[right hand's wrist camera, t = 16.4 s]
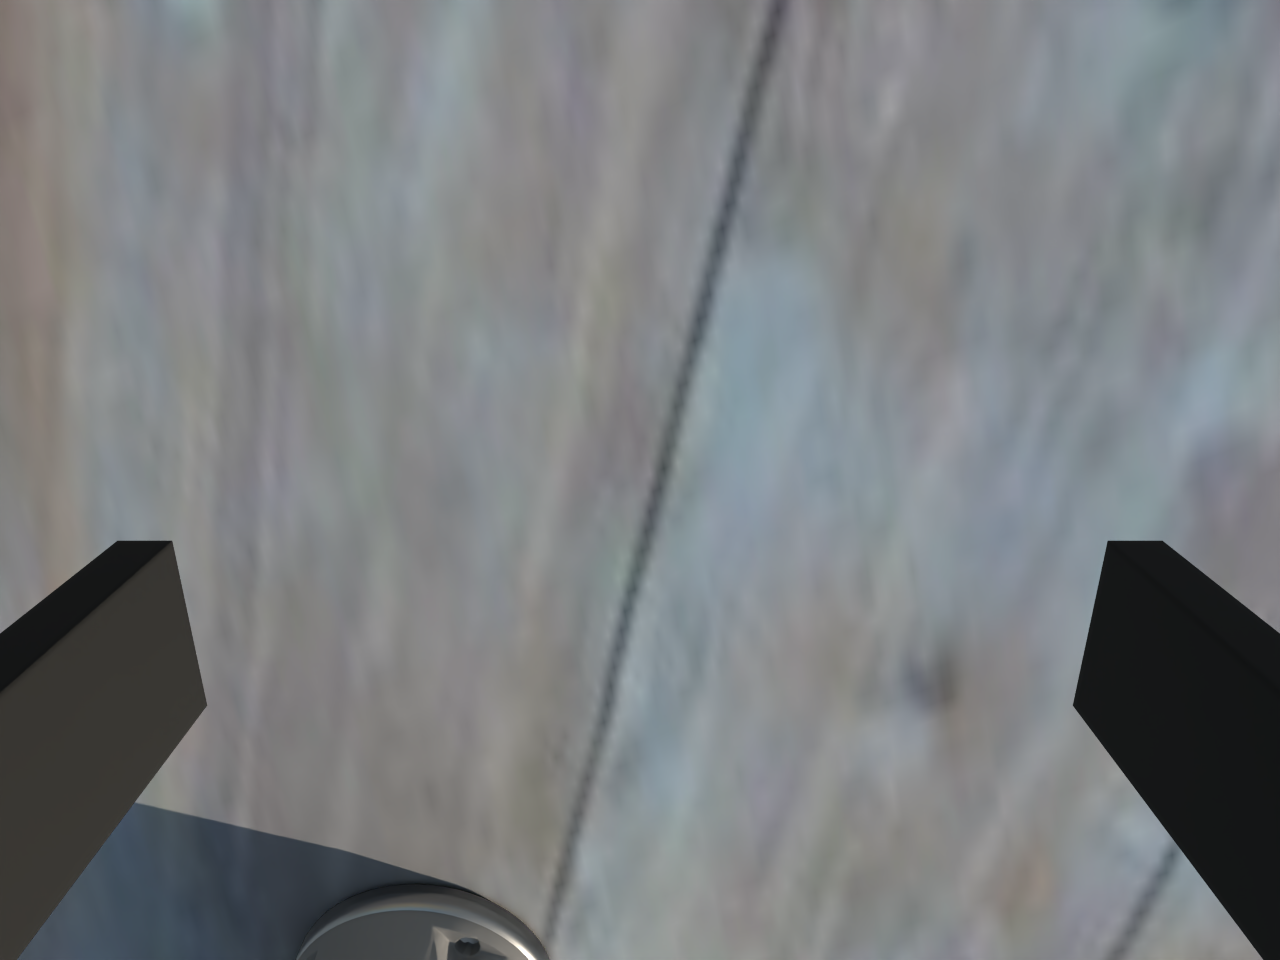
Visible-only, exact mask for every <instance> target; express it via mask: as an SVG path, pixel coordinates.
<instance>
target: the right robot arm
mask: <svg viewBox="0 0 1280 960" xmlns="http://www.w3.org/2000/svg"><path fill="white" fill-rule="evenodd" d="M206 706H207V703H206V698H205V693H204V689H203V684H202V679H201V674H200V670H199V665H198V660H197V656H196V651H195V646H194V641H193V637H192V632H191V627H190V623H189V618H188V613H187V608H186V604H185V599H184V594H183V590H182V585H181V580H180V575H179V571H178V566H177V561H176V557H175V552H174V547H173V542H172V541H117V542H115V543H114V544H113V545H112V546H110V547H109V548H108V549H107V550H105V551H104V552H103V553H102V554H100V555H99V556H98V557H96V558H95V559H94V560H93V561H91V562H90V563H89V564H88V565H86V566H85V567H84V568H83V569H81V570H80V571H79V572H78V573H76V574H75V575H74V576H72V577H71V578H70V579H69V580H67V581H66V582H65V583H64V584H62V585H61V586H60V587H59V588H57V589H56V590H55V591H54V592H52V593H51V594H50V595H48V596H47V597H46V598H45V599H43V600H42V601H41V602H40V603H38V604H37V605H36V606H35V607H33V608H32V609H31V610H29V611H28V612H27V613H26V614H24V615H23V616H22V617H21V618H19V619H18V620H17V621H16V622H14V623H13V624H12V625H11V626H9V627H8V628H7V629H5V630H4V631H3V632H2V633H0V960H17V959H18V957H19V956H20V955H21V953H22V952H23V951H24V949H25V948H26V947H27V945H28V944H29V943H30V941H31V940H32V939H33V937H34V936H35V935H36V933H37V932H38V931H39V929H40V928H41V926H42V925H43V924H44V922H45V921H46V920H47V918H48V917H49V916H50V914H51V913H52V912H53V910H54V909H55V908H56V906H57V905H58V904H59V902H60V901H61V900H62V898H63V897H64V896H65V894H66V893H67V892H68V890H69V889H70V888H71V886H72V885H73V884H74V882H75V881H76V880H77V878H78V877H79V876H80V874H81V873H82V872H83V870H84V869H85V868H86V866H87V865H88V864H89V862H90V861H91V860H92V858H93V857H94V856H95V854H96V853H97V852H98V850H99V849H100V848H101V846H102V845H103V844H104V842H105V841H106V840H107V838H108V837H109V836H110V834H111V833H112V832H113V830H114V829H115V828H116V826H117V825H118V824H119V822H120V821H121V820H122V818H123V817H124V816H125V814H126V813H127V812H128V810H129V809H130V808H131V806H132V805H133V804H134V802H135V801H136V800H137V798H138V797H139V796H140V794H141V793H142V792H143V790H144V789H145V788H146V786H147V785H148V784H149V782H150V781H151V780H152V778H153V777H154V776H155V774H156V773H157V772H158V770H159V769H160V768H161V766H162V765H163V764H164V762H165V761H166V760H167V758H168V757H169V756H170V754H171V753H172V752H173V750H174V749H175V748H176V746H177V745H178V744H179V742H180V741H181V740H182V738H183V737H184V736H185V734H186V733H187V732H188V730H189V729H190V728H191V726H192V725H193V724H194V722H195V721H196V720H197V718H198V717H199V716H200V714H201V713H202V712H203V710H204V709H205V708H206ZM1073 706H1074V708H1075V709H1076V710H1077V712H1078V713H1079V714H1080V716H1081V717H1082V718H1083V720H1084V721H1085V722H1086V724H1087V725H1088V726H1089V728H1090V729H1091V730H1092V732H1093V733H1094V734H1095V736H1096V737H1097V738H1098V740H1099V741H1100V742H1101V744H1102V745H1103V746H1104V748H1105V749H1106V750H1107V752H1108V753H1109V754H1110V756H1111V757H1112V758H1113V760H1114V761H1115V762H1116V764H1117V765H1118V766H1119V768H1120V769H1121V770H1122V772H1123V773H1124V774H1125V776H1126V777H1127V778H1128V780H1129V781H1130V782H1131V784H1132V785H1133V786H1134V788H1135V789H1136V790H1137V792H1138V793H1139V794H1140V796H1141V797H1142V798H1143V800H1144V801H1145V802H1146V804H1147V805H1148V806H1149V808H1150V809H1151V810H1152V812H1153V813H1154V814H1155V816H1156V817H1157V818H1158V820H1159V821H1160V822H1161V824H1162V825H1163V826H1164V828H1165V829H1166V830H1167V832H1168V833H1169V834H1170V836H1171V837H1172V838H1173V840H1174V841H1175V842H1176V844H1177V845H1178V846H1179V848H1180V849H1181V850H1182V852H1183V853H1184V854H1185V856H1186V857H1187V858H1188V860H1189V861H1190V862H1191V864H1192V865H1193V866H1194V868H1195V869H1196V870H1197V872H1198V873H1199V874H1200V876H1201V877H1202V878H1203V880H1204V881H1205V882H1206V884H1207V885H1208V886H1209V888H1210V889H1211V890H1212V892H1213V893H1214V894H1215V896H1216V897H1217V898H1218V900H1219V901H1220V902H1221V904H1222V905H1223V906H1224V908H1225V909H1226V910H1227V912H1228V913H1229V914H1230V916H1231V917H1232V918H1233V920H1234V921H1235V922H1236V924H1237V925H1238V926H1239V928H1240V929H1241V931H1242V932H1243V933H1244V935H1245V936H1246V937H1247V939H1248V940H1249V941H1250V943H1251V944H1252V945H1253V947H1254V948H1255V949H1256V951H1257V952H1258V953H1259V955H1260V956H1261V957H1262V959H1263V960H1280V633H1278V632H1277V631H1276V630H1275V629H1273V628H1272V627H1271V626H1269V625H1268V624H1267V623H1266V622H1264V621H1263V620H1262V619H1261V618H1259V617H1258V616H1257V615H1256V614H1254V613H1253V612H1252V611H1251V610H1249V609H1248V608H1247V607H1245V606H1244V605H1243V604H1242V603H1240V602H1239V601H1238V600H1237V599H1235V598H1234V597H1233V596H1232V595H1230V594H1229V593H1228V592H1226V591H1225V590H1224V589H1223V588H1221V587H1220V586H1219V585H1218V584H1216V583H1215V582H1214V581H1213V580H1211V579H1210V578H1209V577H1208V576H1206V575H1205V574H1204V573H1202V572H1201V571H1200V570H1199V569H1197V568H1196V567H1195V566H1194V565H1192V564H1191V563H1190V562H1189V561H1187V560H1186V559H1185V558H1184V557H1182V556H1181V555H1180V554H1178V553H1177V552H1176V551H1175V550H1173V549H1172V548H1171V547H1170V546H1168V545H1167V544H1166V543H1165V542H1163V541H1108V542H1107V547H1106V552H1105V557H1104V561H1103V566H1102V571H1101V575H1100V580H1099V585H1098V590H1097V594H1096V599H1095V604H1094V608H1093V613H1092V618H1091V623H1090V627H1089V632H1088V637H1087V641H1086V646H1085V651H1084V656H1083V660H1082V665H1081V670H1080V674H1079V679H1078V684H1077V689H1076V693H1075V698H1074V703H1073ZM296 960H550V959H549V957H548V955H547V953H546V951H545V949H544V947H543V946H542V944H541V943H540V941H539V940H538V938H537V937H536V936H535V935H534V933H533V932H532V931H531V930H530V929H529V928H528V927H527V926H526V925H525V924H524V923H523V922H522V921H520V920H519V919H518V918H517V917H516V916H514V915H513V914H511V913H510V912H508V911H507V910H505V909H504V908H502V907H500V906H498V905H497V904H495V903H493V902H491V901H489V900H486V899H484V898H482V897H479V896H477V895H474V894H471V893H468V892H465V891H461V890H457V889H453V888H448V887H442V886H435V885H421V884H408V885H395V886H388V887H382V888H377V889H374V890H370V891H366V892H363V893H361V894H358V895H355V896H353V897H351V898H348V899H346V900H344V901H343V902H341V903H339V904H337V905H336V906H334V907H333V908H332V909H330V910H329V911H327V912H326V913H325V914H324V915H323V916H322V917H321V918H319V919H318V921H317V922H316V923H315V924H314V925H313V926H312V928H311V929H310V931H309V932H308V934H307V935H306V937H305V939H304V941H303V943H302V945H301V948H300V950H299V953H298V955H297V958H296Z"/></svg>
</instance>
